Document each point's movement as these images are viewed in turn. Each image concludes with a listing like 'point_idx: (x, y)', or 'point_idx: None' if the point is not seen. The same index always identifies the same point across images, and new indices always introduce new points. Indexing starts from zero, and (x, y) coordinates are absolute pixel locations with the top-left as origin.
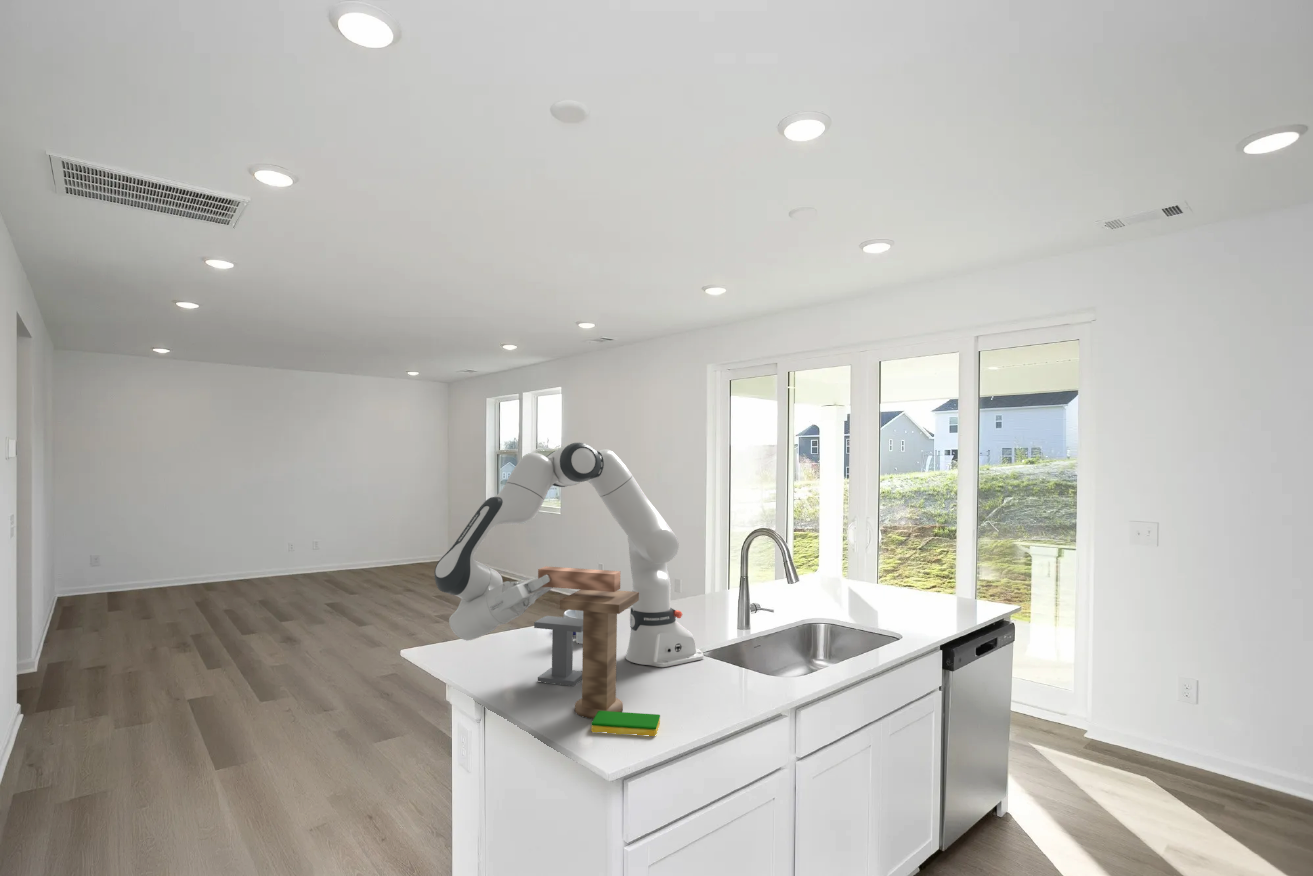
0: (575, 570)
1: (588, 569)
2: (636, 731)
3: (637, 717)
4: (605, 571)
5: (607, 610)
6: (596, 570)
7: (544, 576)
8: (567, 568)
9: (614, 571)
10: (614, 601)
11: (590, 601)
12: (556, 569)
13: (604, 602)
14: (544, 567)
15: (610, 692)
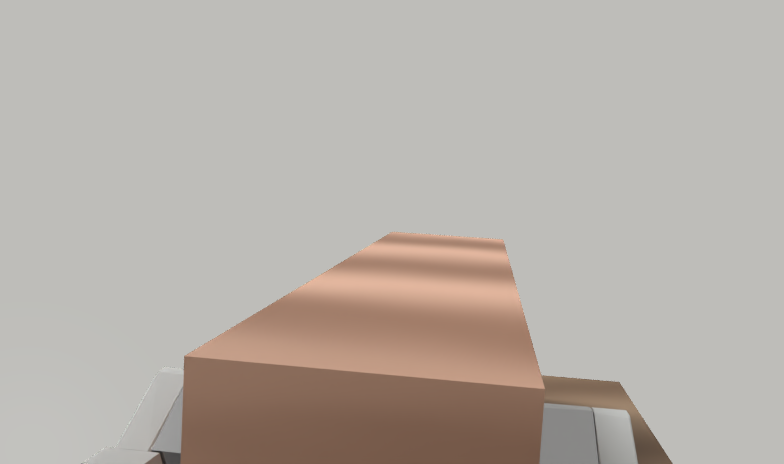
0: (451, 272)
1: (368, 255)
2: None
3: None
4: (425, 241)
5: None
6: (400, 248)
7: (632, 443)
8: (351, 284)
9: (410, 235)
10: (555, 390)
11: None
12: (459, 310)
13: (608, 408)
14: (318, 359)
15: None
